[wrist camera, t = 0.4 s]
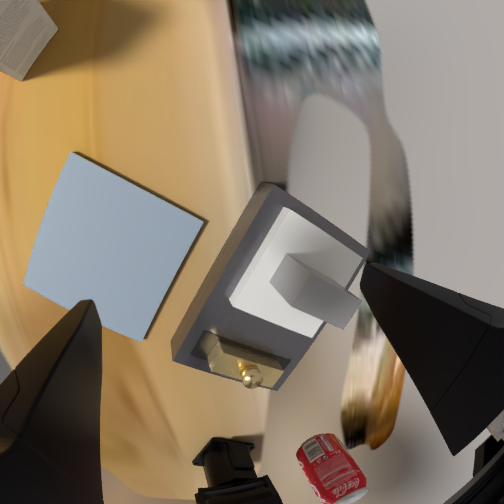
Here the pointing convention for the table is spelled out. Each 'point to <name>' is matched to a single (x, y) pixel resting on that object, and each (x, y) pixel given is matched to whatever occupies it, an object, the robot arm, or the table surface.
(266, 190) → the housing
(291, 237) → the lid
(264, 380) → the pegged block
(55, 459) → the robot arm
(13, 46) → the small box
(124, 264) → the pad
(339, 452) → the soda can
